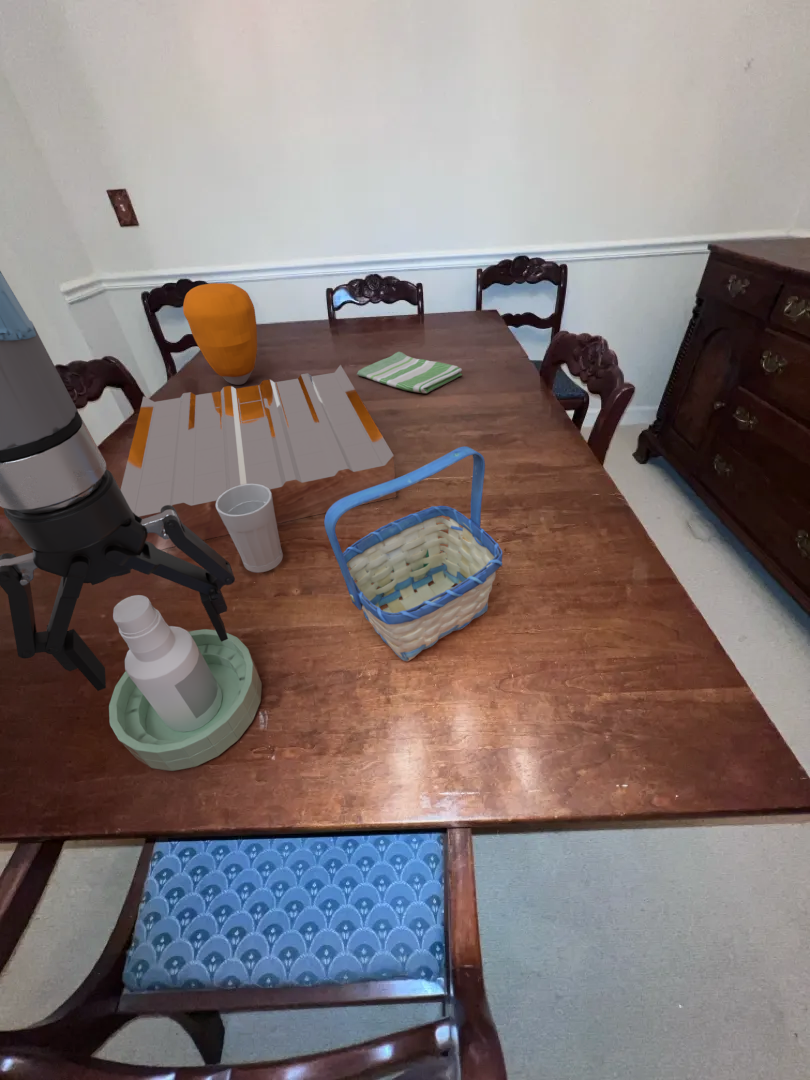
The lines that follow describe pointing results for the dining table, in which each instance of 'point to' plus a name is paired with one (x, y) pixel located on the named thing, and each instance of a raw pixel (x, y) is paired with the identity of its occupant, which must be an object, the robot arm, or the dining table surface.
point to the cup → (252, 525)
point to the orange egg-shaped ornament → (224, 328)
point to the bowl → (192, 748)
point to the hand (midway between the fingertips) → (164, 654)
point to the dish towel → (410, 373)
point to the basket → (419, 563)
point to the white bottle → (167, 666)
